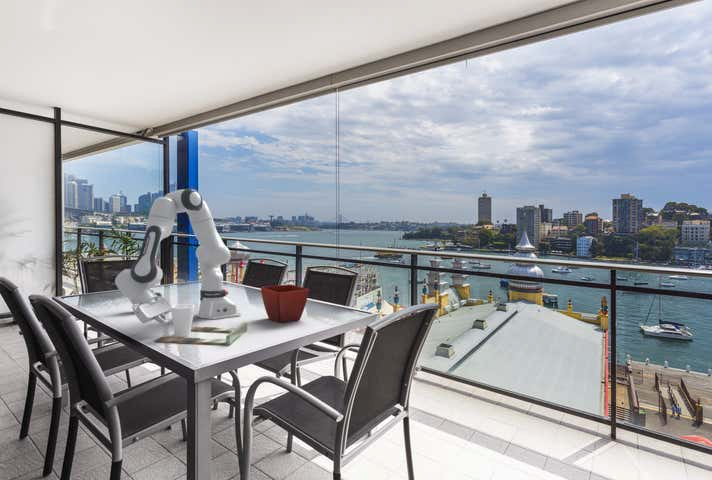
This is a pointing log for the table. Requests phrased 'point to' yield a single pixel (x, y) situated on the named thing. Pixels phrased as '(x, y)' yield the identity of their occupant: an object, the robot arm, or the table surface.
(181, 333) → the foam cup
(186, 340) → the trap pads
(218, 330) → the runway box
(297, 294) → the plant pot
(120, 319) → the table surface
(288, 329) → the table surface
